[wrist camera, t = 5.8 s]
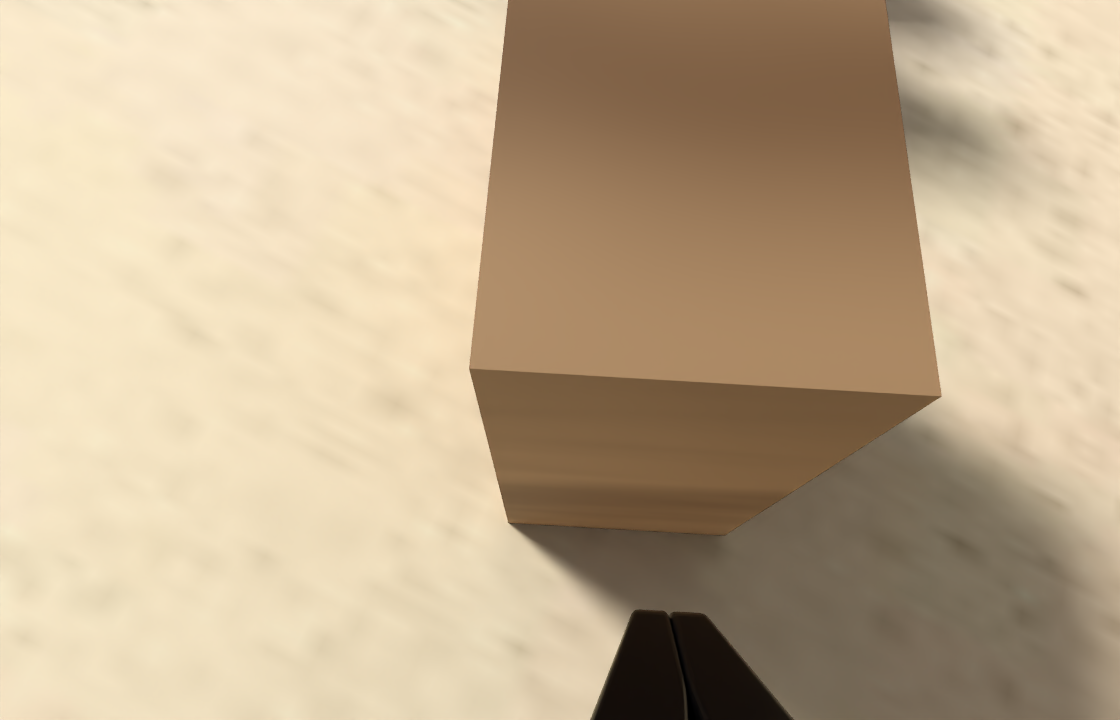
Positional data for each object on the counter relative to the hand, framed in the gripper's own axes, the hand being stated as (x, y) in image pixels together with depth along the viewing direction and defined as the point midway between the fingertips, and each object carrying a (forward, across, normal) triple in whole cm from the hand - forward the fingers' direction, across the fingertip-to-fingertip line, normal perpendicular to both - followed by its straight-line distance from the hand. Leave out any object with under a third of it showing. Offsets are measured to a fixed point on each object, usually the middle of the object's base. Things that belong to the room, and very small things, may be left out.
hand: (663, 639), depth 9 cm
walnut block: (+11, 0, -2) cm, 11 cm away
